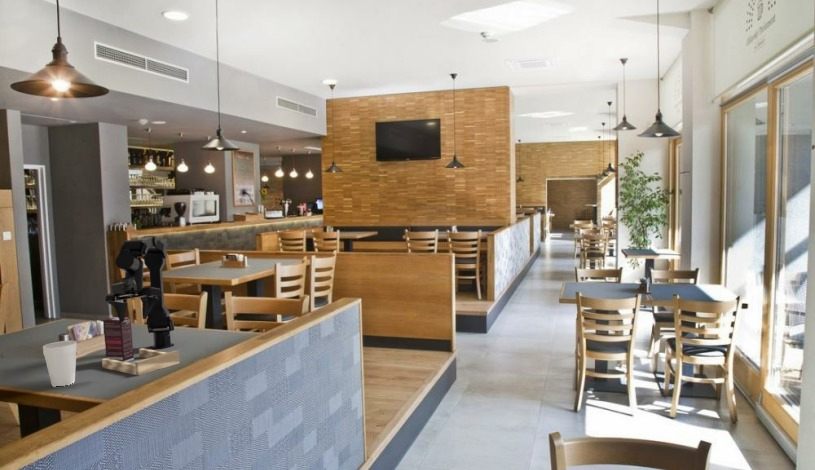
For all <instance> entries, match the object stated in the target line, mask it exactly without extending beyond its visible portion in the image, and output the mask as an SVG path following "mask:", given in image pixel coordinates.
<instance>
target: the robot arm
mask: <svg viewBox="0 0 815 470" xmlns="http://www.w3.org/2000/svg"><path fill="white" fill-rule="evenodd" d="M167 251H168V250H167V248H166V247H165V244H164V243H163V242H161V241H160V240H158V238H157V235H145V236H142V237H141V238H139V239H128V240H124V241H123V243H122V244H121V246H120V249H119V252H118V255H117V256H116V258H115V265H116V267H117V268H118V269H120V270H121V271H124V277H122V278H121V280H120V282H117V283H114V284H110V285H109V287H110V290H111V293H107V294H106V295H105V298H104V299H105V303H108V305H111V306H112V307H113V308H114V310H115V312H116V314H117V317H119V320H120V322H122V323H123V322H124V319H125V317H126V313H127V308H128V303H127V301H128V300H129V299H130V300H131V299H136V298H140V301H141V303H142V305H141V306H142V307H141V308H142V320H146V325H147V332H148V334H153V345H151V346H150V348H151V349H152V348H153V349H159V350H160V349H164V348H168V347H169V348H170V347H171V346H175V343H172V341H171V340H172V339H171V338H172V337H171V332H172V331H175V324H174V320H173V319H172V317H171V315H170V314H171V313H170V311H169V310H168V308H167V306H165V305H166V304H165V293H164V292H165V291H164V282H163V281H164V280H163V279H164V276H163V268H164V266H165V265H166V262H167V257H168V252H167ZM141 257H142V258H141ZM144 265H145V267H146V268H147V269H148V270H149V284H150V285H149V286H147V287H144V282H146V281H147V280H146V278H145V277H144Z"/></svg>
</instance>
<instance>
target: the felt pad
mask: <svg viewBox="0 0 815 470" xmlns="http://www.w3.org/2000/svg"><path fill="white" fill-rule="evenodd" d="M144 359H145V358H140V359H136V360H132V361H130V362H128V363H132V364H135V362H137V361H141V360H144Z"/></svg>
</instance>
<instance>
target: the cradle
mask: <svg viewBox="0 0 815 470" xmlns="http://www.w3.org/2000/svg"><path fill="white" fill-rule="evenodd" d="M138 354H139V355H138V356H139V358H140V359H144V360H141V361H137V362H135V364H132V363H129V362H123V361H118V360H113V359H108V358H102V359H101V365H102V367H101V368H103V369H107V370H111V371H115V372H121V373H125V374H130V375H134V376H142V375H145V374H149V373H151V372H155V371H158V369H159V370H161V369H164V368H168V367H171V366H175V365H177V364H180V353H179V350H173V351H168V352H166V351H158V350H155V349H154V350H153V349H149V348H148V349H147V348H143V347H142V348H139V349H138Z"/></svg>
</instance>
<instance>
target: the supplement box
mask: <svg viewBox="0 0 815 470" xmlns="http://www.w3.org/2000/svg"><path fill="white" fill-rule="evenodd" d="M102 322H103V332H104V333H103V335H104V345H105V357H106V358H108V359H113V360H118V361H123V362H128V363H129V362H132V361H135V357H134V345H133V332H132V321H131V317H126V316H125V319H124V322H123V323H122V322H120V320H119V317H118V316H112V317H107V318H104V319H103V320H102Z"/></svg>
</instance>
